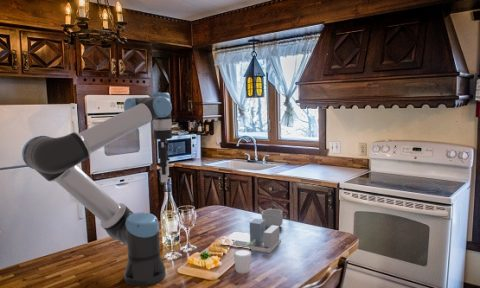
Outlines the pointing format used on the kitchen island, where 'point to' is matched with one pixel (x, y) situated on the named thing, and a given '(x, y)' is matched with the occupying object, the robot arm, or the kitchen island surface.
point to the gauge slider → (257, 231)
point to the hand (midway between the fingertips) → (165, 178)
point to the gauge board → (266, 246)
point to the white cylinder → (242, 260)
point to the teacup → (272, 217)
